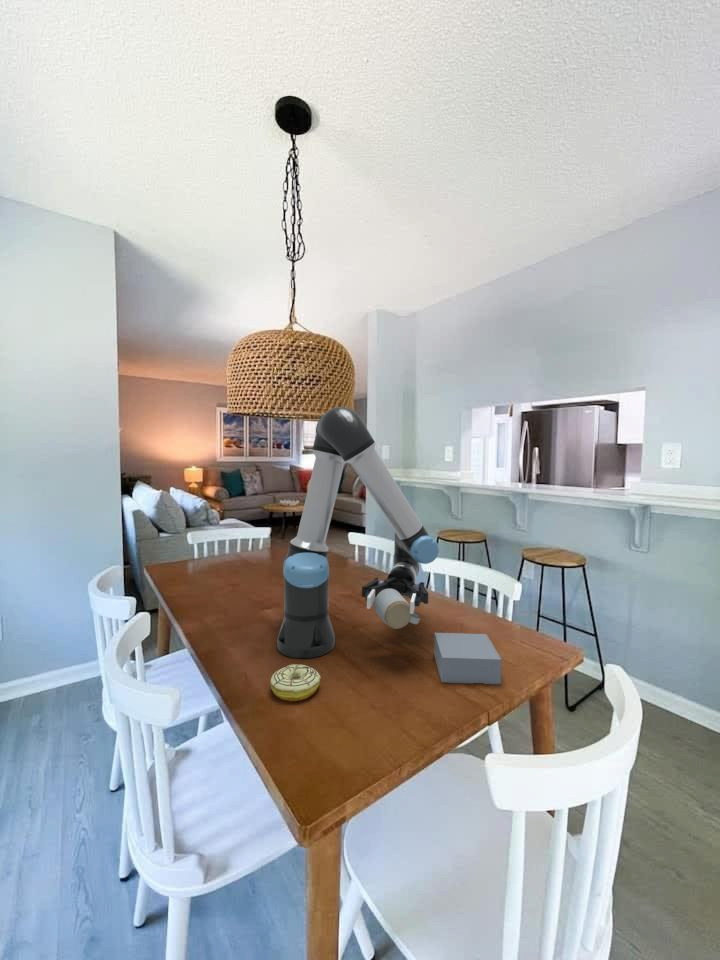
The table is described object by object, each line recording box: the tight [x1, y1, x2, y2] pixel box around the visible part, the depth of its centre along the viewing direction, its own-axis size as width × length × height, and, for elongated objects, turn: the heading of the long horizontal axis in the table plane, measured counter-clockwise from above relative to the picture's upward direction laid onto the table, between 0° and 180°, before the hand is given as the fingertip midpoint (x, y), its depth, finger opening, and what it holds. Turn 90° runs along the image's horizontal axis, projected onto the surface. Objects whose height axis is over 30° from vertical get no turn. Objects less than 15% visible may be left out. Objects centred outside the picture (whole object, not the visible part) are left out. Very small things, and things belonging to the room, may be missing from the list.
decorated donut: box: [270, 663, 321, 702], centre depth 89 cm, size 10×11×4 cm
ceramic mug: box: [373, 589, 421, 630], centre depth 101 cm, size 11×8×8 cm
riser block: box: [433, 632, 502, 685], centre depth 98 cm, size 13×13×6 cm
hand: (389, 605), depth 96 cm, fingers closed on ceramic mug, 9 cm apart
